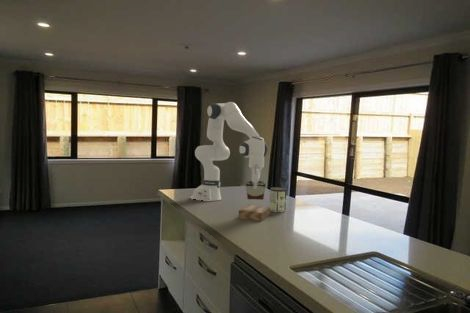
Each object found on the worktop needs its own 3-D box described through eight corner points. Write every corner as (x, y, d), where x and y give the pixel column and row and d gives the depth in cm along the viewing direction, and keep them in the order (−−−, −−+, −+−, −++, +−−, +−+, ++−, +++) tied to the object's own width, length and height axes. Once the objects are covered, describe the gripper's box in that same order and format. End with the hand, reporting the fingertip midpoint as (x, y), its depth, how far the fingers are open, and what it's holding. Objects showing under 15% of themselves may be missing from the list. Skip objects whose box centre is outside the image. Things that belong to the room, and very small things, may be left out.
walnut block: (238, 218, 198) (238, 210, 198) (248, 212, 213) (248, 204, 212) (261, 221, 193) (262, 213, 192) (270, 215, 207) (270, 207, 207)
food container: (265, 195, 207) (266, 179, 204) (265, 199, 201) (266, 184, 198) (245, 194, 208) (245, 179, 204) (244, 199, 202) (245, 183, 199)
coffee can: (275, 207, 228) (276, 186, 227) (288, 210, 221) (289, 188, 220) (266, 210, 220) (267, 188, 219) (279, 213, 213) (280, 190, 212)
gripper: (261, 166, 190) (260, 191, 191) (262, 162, 210) (261, 185, 211) (249, 165, 191) (248, 190, 192) (252, 162, 211) (251, 184, 212)
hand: (255, 187), depth 202 cm, fingers closed on food container, 5 cm apart
